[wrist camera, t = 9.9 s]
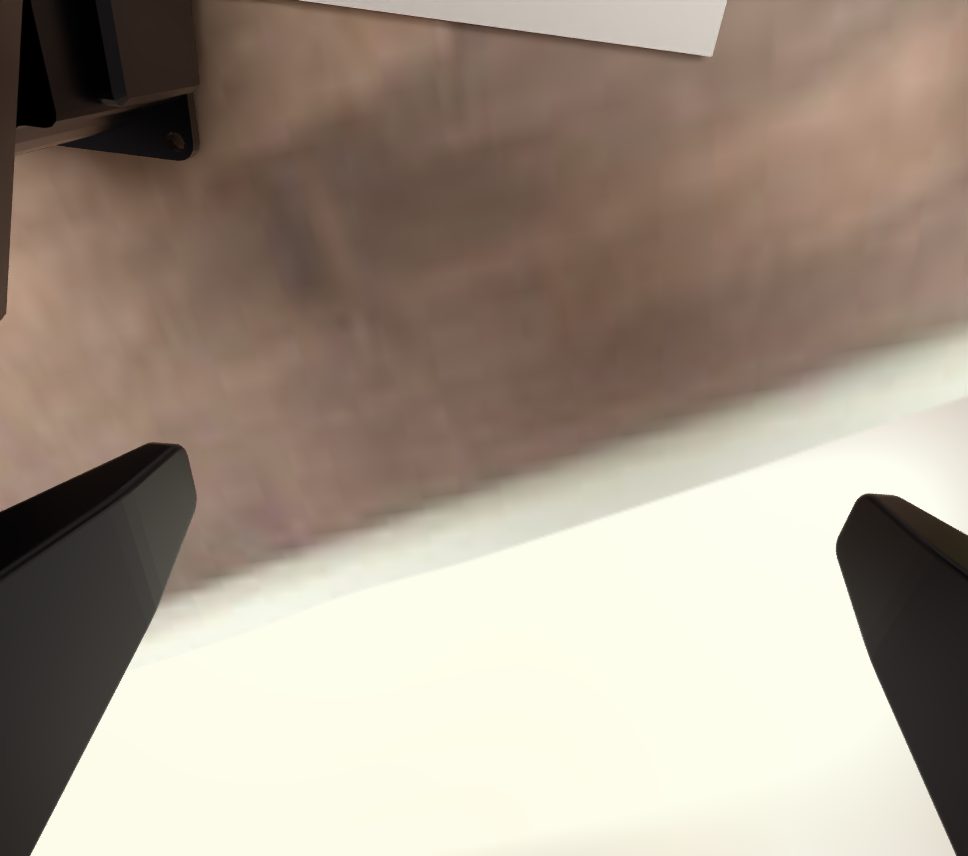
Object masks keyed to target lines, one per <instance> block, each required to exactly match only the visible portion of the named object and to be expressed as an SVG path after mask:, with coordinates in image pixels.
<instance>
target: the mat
mask: <svg viewBox="0 0 968 856" xmlns="http://www.w3.org/2000/svg"><path fill="white" fill-rule="evenodd" d="M301 1H308V2H316V3H323V4H330V5H338V6H345V7H352V8H359V9H367V10H374V11H381V12H389V13H396V14H403V15H411V16H418V17H425V18H432V19H440V20H447V21H454V22H462V23H469V24H476V25H483V26H491V27H498V28H505V29H513V30H520V31H527V32H534V33H542V34H549V35H556V36H564V37H571V38H578V39H586V40H593V41H600V42H607V43H615V44H622V45H629V46H637V47H644V48H651V49H658V50H666V51H673V52H680V53H688V54H695V55H702V56H710V57H712V55H713V51H714V47H715V43H716V40H717V36H718V32H719V29H720V25H721V21H722V17H723V14H724V10H725V6H726V3H727V0H301Z"/></svg>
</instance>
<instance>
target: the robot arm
mask: <svg viewBox="0 0 968 856" xmlns="http://www.w3.org/2000/svg"><path fill="white" fill-rule="evenodd" d="M199 84H200V80H199V71H198V62H197V53H196V44H195V36H194V27H193V18H192V9H191V1H190V0H0V320H1V319H2V318H3V317H4V315H5V314H6V305H7V286H8V268H9V249H10V230H11V211H12V193H13V174H14V156H16V155H20V154H24V153H27V152H31V151H35V150H39V149H43V148H47V147H51V146H55V145H58V146H66V147H74V148H82V149H90V150H98V151H106V152H114V153H121V154H129V155H137V156H145V157H153V158H161V159H169V160H177V161H180V160H186V159H189V158H191V157H192V156H194V155H196V153H197V151H198V149H199V137H198V128H197V120H196V112H195V103H194V95H193V91H194V90H195V89H196V88H197V87H198V86H199ZM174 132H176V133H178V134H180V135H181V137H182V138H183V140H184V142H185V145H184V149H181V148H178V147H177V146H176V145H175V144H174V141H173V133H174ZM196 500H197V498H196V490H195V485H194V481H193V477H192V472H191V468H190V464H189V459H188V455H187V453H186V450H185V449H184V448H183V447H182V446H181V445H179V444H170V443H156V442H152V443H147V444H145V445H143V446H140V447H138V448H136V449H134V450H132V451H130V452H128V453H126V454H123V455H121V456H119V457H117V458H115V459H113V460H111V461H108V462H106V463H104V464H102V465H100V466H98V467H96V468H93V469H91V470H89V471H87V472H85V473H83V474H81V475H78V476H76V477H74V478H72V479H70V480H68V481H66V482H63V483H61V484H59V485H57V486H55V487H53V488H51V489H49V490H46V491H44V492H42V493H40V494H38V495H36V496H34V497H31V498H29V499H27V500H25V501H23V502H21V503H19V504H16V505H14V506H12V507H10V508H8V509H6V510H4V511H1V512H0V856H30V855H31V853H32V851H33V849H34V847H35V845H36V843H37V841H38V839H39V837H40V836H41V834H42V832H43V830H44V828H45V826H46V824H47V822H48V820H49V818H50V816H51V814H52V812H53V810H54V809H55V807H56V805H57V803H58V801H59V799H60V797H61V795H62V793H63V791H64V789H65V787H66V785H67V783H68V781H69V780H70V777H71V776H72V774H73V771H74V770H75V768H76V766H77V764H78V762H79V760H80V758H81V756H82V754H83V752H84V750H85V749H86V747H87V745H88V743H89V741H90V739H91V737H92V735H93V733H94V731H95V729H96V727H97V725H98V723H99V722H100V720H101V718H102V716H103V714H104V712H105V710H106V708H107V706H108V704H109V702H110V700H111V698H112V696H113V694H114V693H115V690H116V689H117V687H118V685H119V683H120V681H121V679H122V677H123V675H124V673H125V671H126V669H127V667H128V665H129V663H130V662H131V660H132V658H133V656H134V654H135V652H136V650H137V648H138V646H139V644H140V642H141V640H142V638H143V636H144V634H145V633H146V631H147V629H148V627H149V625H150V623H151V621H152V618H153V616H154V614H155V612H156V610H157V608H158V605H159V603H160V601H161V598H162V596H163V593H164V591H165V588H166V586H167V583H168V580H169V578H170V575H171V572H172V570H173V567H174V564H175V562H176V559H177V557H178V554H179V551H180V549H181V546H182V543H183V541H184V538H185V535H186V533H187V530H188V528H189V525H190V522H191V520H192V517H193V514H194V511H195V508H196ZM836 555H837V559H838V562H839V565H840V568H841V571H842V575H843V578H844V581H845V584H846V587H847V590H848V593H849V596H850V600H851V602H852V606H853V609H854V612H855V615H856V619H857V622H858V625H859V628H860V631H861V634H862V637H863V640H864V643H865V646H866V649H867V652H868V655H869V657H870V660H871V662H872V665H873V667H874V670H875V672H876V675H877V677H878V679H879V681H880V684H881V686H882V688H883V691H884V693H885V695H886V697H887V700H888V702H889V704H890V706H891V708H892V711H893V713H894V716H895V718H896V720H897V722H898V725H899V727H900V729H901V731H902V734H903V736H904V738H905V741H906V743H907V745H908V747H909V750H910V752H911V754H912V756H913V759H914V761H915V763H916V765H917V768H918V770H919V772H920V775H921V777H922V779H923V781H924V784H925V786H926V788H927V790H928V792H929V795H930V797H931V799H932V802H933V804H934V806H935V809H936V811H937V813H938V815H939V818H940V820H941V822H942V824H943V827H944V829H945V831H946V833H947V836H948V838H949V840H950V843H951V845H952V847H953V849H954V852H955V854H956V856H968V535H966V534H964V533H962V532H961V531H959V530H957V529H955V528H953V527H952V526H950V525H948V524H946V523H945V522H943V521H941V520H939V519H937V518H936V517H934V516H932V515H930V514H929V513H927V512H925V511H923V510H922V509H920V508H918V507H916V506H914V505H913V504H911V503H909V502H907V501H906V500H904V499H902V498H900V497H898V496H894V495H882V494H864V495H862V496H861V497H860V498H858V499H857V501H856V502H855V504H854V506H853V508H852V510H851V512H850V514H849V516H848V518H847V521H846V522H845V524H844V526H843V528H842V530H841V532H840V535H839V536H838V539H837V543H836Z"/></svg>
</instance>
